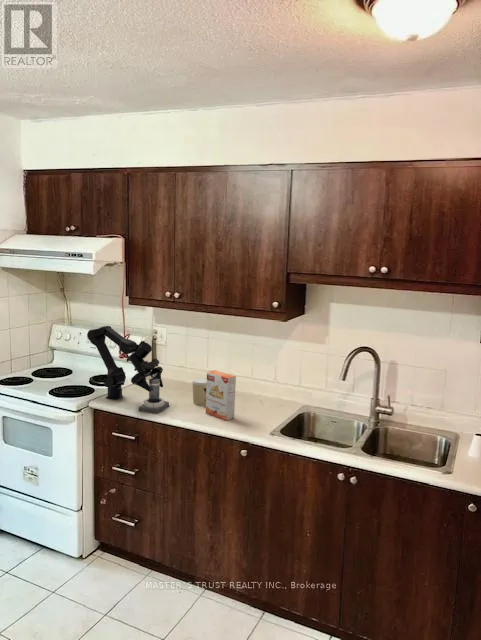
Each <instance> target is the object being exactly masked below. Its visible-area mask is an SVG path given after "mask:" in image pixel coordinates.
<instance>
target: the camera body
mask: <svg viewBox="0 0 481 640" xmlns="http://www.w3.org/2000/svg"><path fill="white" fill-rule="evenodd" d="M169 406H170V401H166V400H164V399H163V397H159V402H158V403H150V402H149V397H147V398H145V399H143V404H141V405H140V406H139V407H138V412H143V413H149V414H156V415H158V414H160V413H161V412H163V411H164V410H165V409H166V408H168V407H169Z"/></svg>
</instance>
